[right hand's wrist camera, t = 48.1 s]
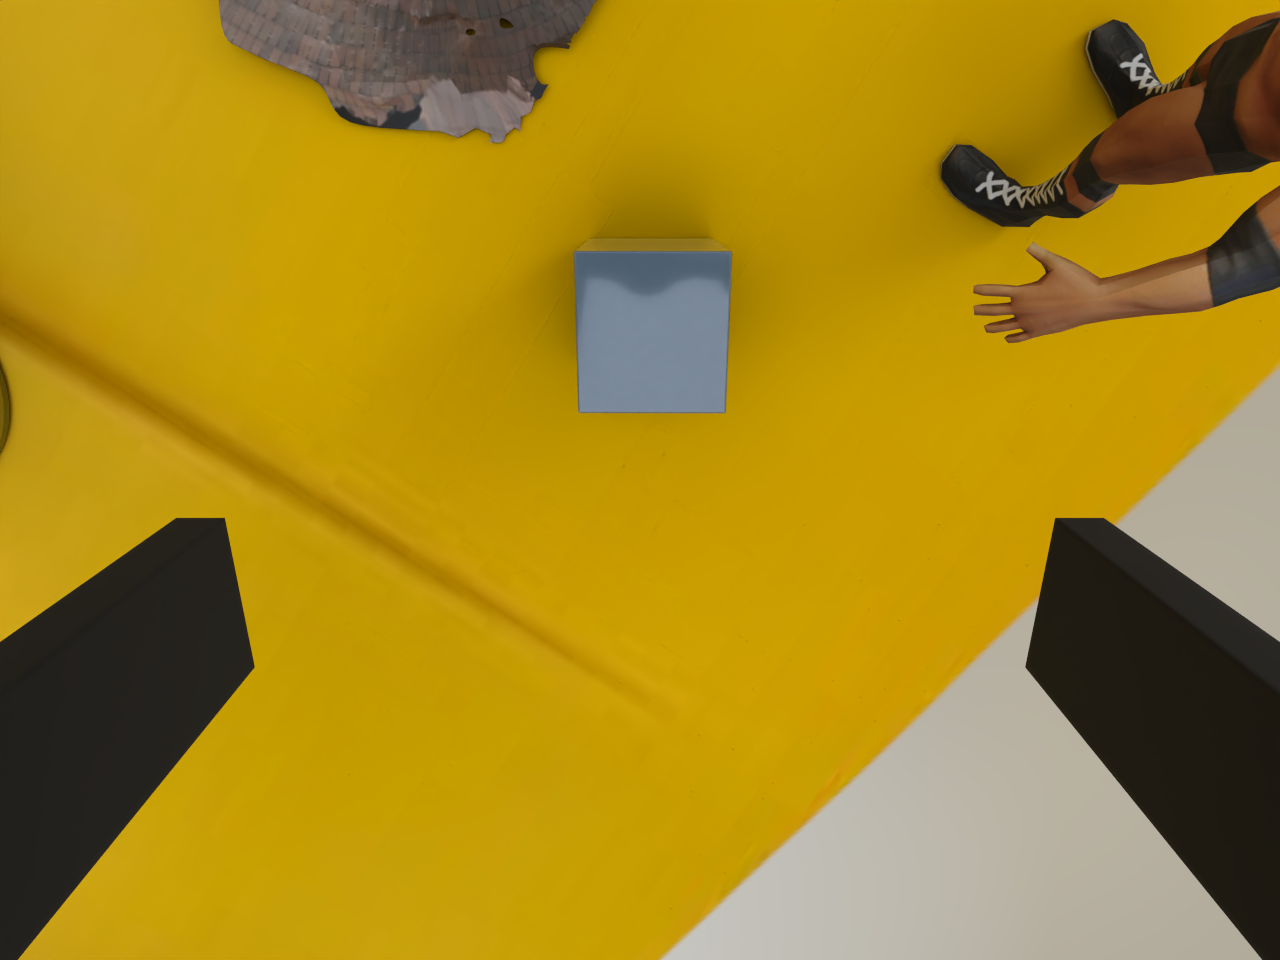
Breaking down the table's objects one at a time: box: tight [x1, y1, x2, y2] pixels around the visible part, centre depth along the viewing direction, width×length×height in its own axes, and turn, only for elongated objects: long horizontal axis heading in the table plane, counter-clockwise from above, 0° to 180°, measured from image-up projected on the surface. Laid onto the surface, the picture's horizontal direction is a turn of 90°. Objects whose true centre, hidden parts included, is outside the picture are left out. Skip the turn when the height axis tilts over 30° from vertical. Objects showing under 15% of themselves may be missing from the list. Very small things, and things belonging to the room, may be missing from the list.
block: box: [574, 238, 732, 413], centre depth 42 cm, size 8×7×11 cm
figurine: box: [941, 11, 1280, 343], centre depth 29 cm, size 24×6×30 cm, turn 131°
